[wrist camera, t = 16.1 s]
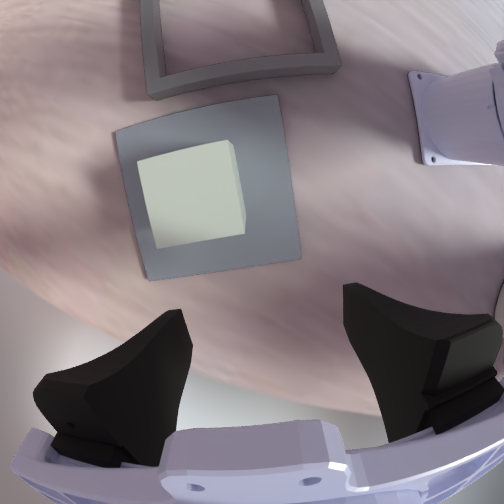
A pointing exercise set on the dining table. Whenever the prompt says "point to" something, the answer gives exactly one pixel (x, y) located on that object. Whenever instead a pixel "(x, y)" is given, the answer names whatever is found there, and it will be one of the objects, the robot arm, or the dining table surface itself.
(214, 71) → the grey square frame
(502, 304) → the cylinder vase
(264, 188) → the slate mat
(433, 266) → the dining table surface
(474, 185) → the dining table surface
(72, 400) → the robot arm
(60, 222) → the dining table surface
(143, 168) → the block
